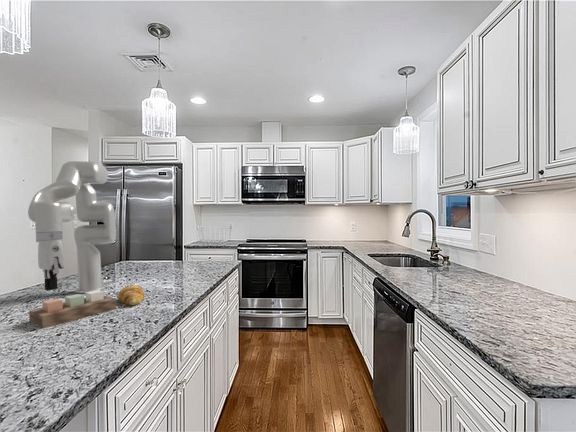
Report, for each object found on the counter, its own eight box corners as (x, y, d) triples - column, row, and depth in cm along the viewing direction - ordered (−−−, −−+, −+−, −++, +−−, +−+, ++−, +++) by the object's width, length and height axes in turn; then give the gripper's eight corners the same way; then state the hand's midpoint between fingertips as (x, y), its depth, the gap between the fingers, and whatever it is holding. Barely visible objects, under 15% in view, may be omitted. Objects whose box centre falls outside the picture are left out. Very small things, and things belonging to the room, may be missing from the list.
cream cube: (98, 299, 130) (97, 289, 130) (103, 301, 127) (103, 291, 127) (85, 302, 126) (85, 292, 126) (91, 304, 123) (91, 294, 123)
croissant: (141, 314, 131) (151, 295, 132) (116, 306, 126) (126, 287, 128) (136, 300, 149) (144, 284, 151) (113, 293, 144) (122, 276, 146)
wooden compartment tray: (100, 304, 134) (100, 294, 134) (116, 308, 127) (115, 298, 127) (29, 321, 115) (29, 310, 114) (43, 328, 108) (42, 316, 108)
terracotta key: (57, 309, 118) (57, 298, 118) (62, 311, 116) (62, 300, 116) (42, 312, 115) (42, 301, 114) (48, 315, 112) (47, 303, 112)
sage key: (78, 304, 124) (78, 294, 124) (84, 306, 121) (83, 295, 121) (65, 307, 120) (64, 296, 120) (70, 309, 118) (70, 298, 118)
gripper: (70, 236, 113) (72, 289, 113) (53, 236, 122) (54, 285, 122) (45, 238, 107) (47, 294, 107) (28, 237, 115) (30, 289, 116)
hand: (51, 289), depth 114 cm, fingers closed
